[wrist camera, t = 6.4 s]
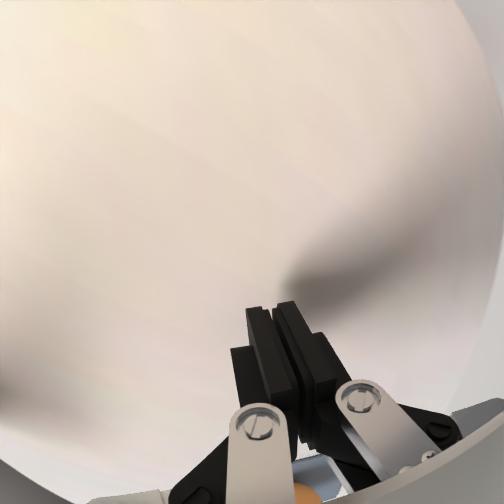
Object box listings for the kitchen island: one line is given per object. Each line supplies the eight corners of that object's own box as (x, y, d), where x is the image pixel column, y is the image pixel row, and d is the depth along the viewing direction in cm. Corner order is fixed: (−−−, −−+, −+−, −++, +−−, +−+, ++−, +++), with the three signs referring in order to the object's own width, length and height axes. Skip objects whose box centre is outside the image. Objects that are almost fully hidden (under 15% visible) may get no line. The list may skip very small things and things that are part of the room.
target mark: (188, 476, 16) (188, 478, 16) (355, 443, 17) (356, 445, 17) (218, 519, 20) (218, 520, 20) (335, 496, 22) (335, 497, 21)
